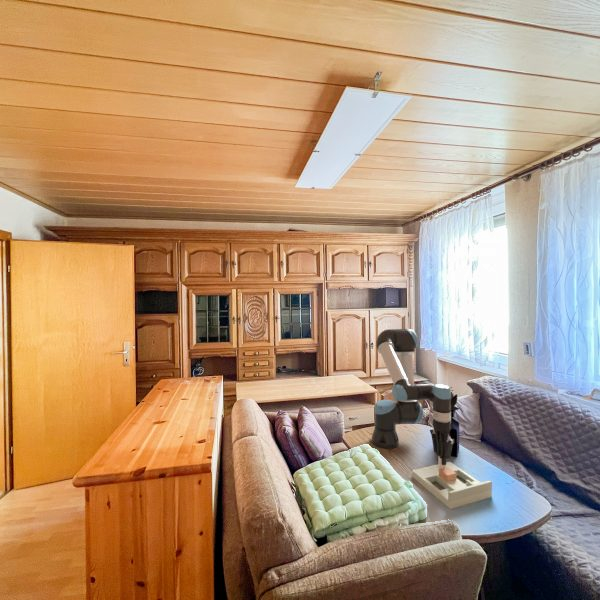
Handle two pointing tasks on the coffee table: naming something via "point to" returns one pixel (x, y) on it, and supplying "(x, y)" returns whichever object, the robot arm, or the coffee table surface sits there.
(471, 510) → the coffee table surface
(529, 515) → the coffee table surface
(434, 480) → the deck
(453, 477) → the block
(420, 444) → the coffee table surface
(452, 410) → the vase
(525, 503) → the coffee table surface
